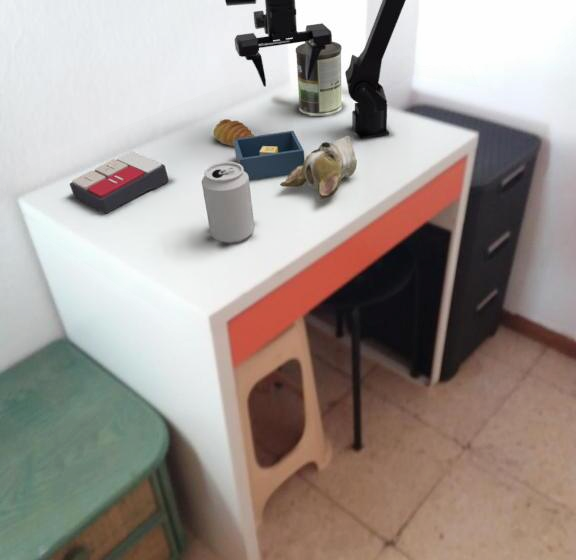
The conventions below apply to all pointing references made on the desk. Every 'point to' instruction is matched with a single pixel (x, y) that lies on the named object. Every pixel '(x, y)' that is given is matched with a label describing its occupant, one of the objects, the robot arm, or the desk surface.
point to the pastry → (231, 131)
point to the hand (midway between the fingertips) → (286, 82)
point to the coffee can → (320, 81)
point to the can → (228, 202)
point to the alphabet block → (268, 150)
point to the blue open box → (269, 155)
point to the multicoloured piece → (119, 181)
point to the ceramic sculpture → (325, 167)
